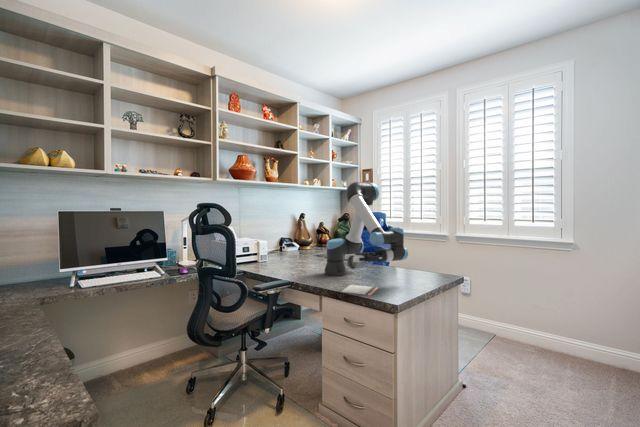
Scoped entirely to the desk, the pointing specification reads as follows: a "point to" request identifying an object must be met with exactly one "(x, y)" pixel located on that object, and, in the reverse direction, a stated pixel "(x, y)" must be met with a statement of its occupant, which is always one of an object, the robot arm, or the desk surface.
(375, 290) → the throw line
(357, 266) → the ceramic mug
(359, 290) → the pad
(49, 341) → the desk surface
